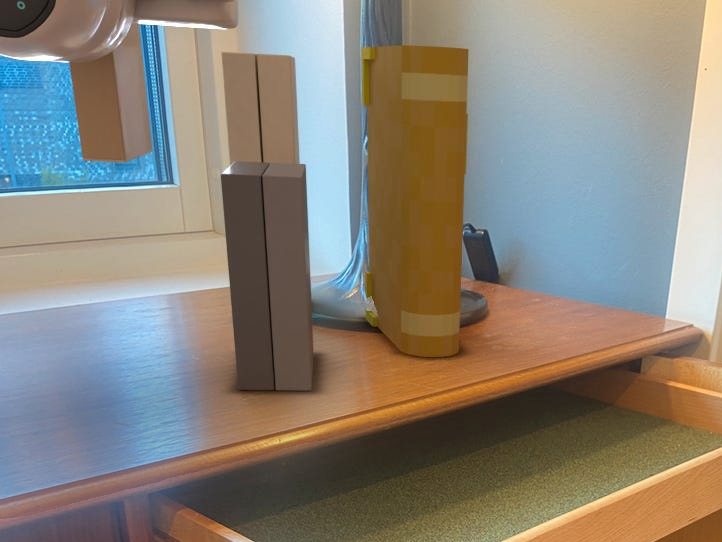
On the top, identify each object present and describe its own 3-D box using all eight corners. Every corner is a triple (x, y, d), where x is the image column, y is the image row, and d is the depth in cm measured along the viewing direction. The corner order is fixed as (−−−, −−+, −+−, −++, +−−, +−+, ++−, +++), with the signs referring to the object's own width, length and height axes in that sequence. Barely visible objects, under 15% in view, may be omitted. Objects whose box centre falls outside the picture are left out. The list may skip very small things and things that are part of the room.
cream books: (242, 322, 99) (221, 51, 87) (251, 295, 111) (234, 54, 99) (302, 323, 100) (290, 55, 88) (305, 296, 112) (295, 57, 100)
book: (365, 318, 103) (361, 47, 91) (425, 317, 105) (429, 51, 93) (401, 358, 90) (402, 44, 77) (470, 355, 91) (482, 49, 79)
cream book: (82, 161, 69) (31, -202, 59) (115, 149, 79) (77, -160, 69) (125, 163, 69) (82, -197, 59) (152, 151, 80) (120, -156, 70)
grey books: (238, 390, 78) (220, 173, 70) (249, 353, 88) (234, 161, 80) (311, 390, 79) (301, 176, 71) (313, 354, 89) (305, 164, 81)
